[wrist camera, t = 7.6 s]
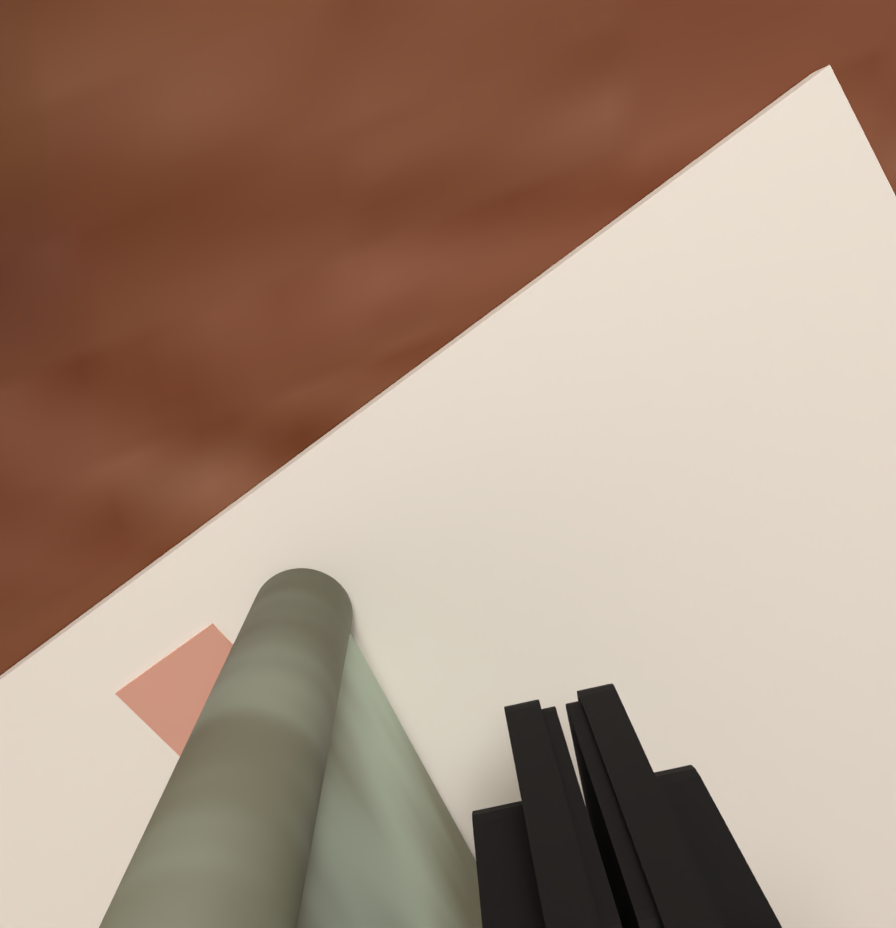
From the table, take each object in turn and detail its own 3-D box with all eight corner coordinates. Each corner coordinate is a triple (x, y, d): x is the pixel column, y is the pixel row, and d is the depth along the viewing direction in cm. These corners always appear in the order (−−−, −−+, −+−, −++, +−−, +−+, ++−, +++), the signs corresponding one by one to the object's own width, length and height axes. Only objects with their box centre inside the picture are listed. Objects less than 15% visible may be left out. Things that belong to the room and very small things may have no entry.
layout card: (812, 72, 11) (832, 64, 11) (1211, 856, 16) (1237, 875, 16) (-364, 945, 15) (-391, 970, 15) (248, 1360, 20) (243, 1390, 20)
